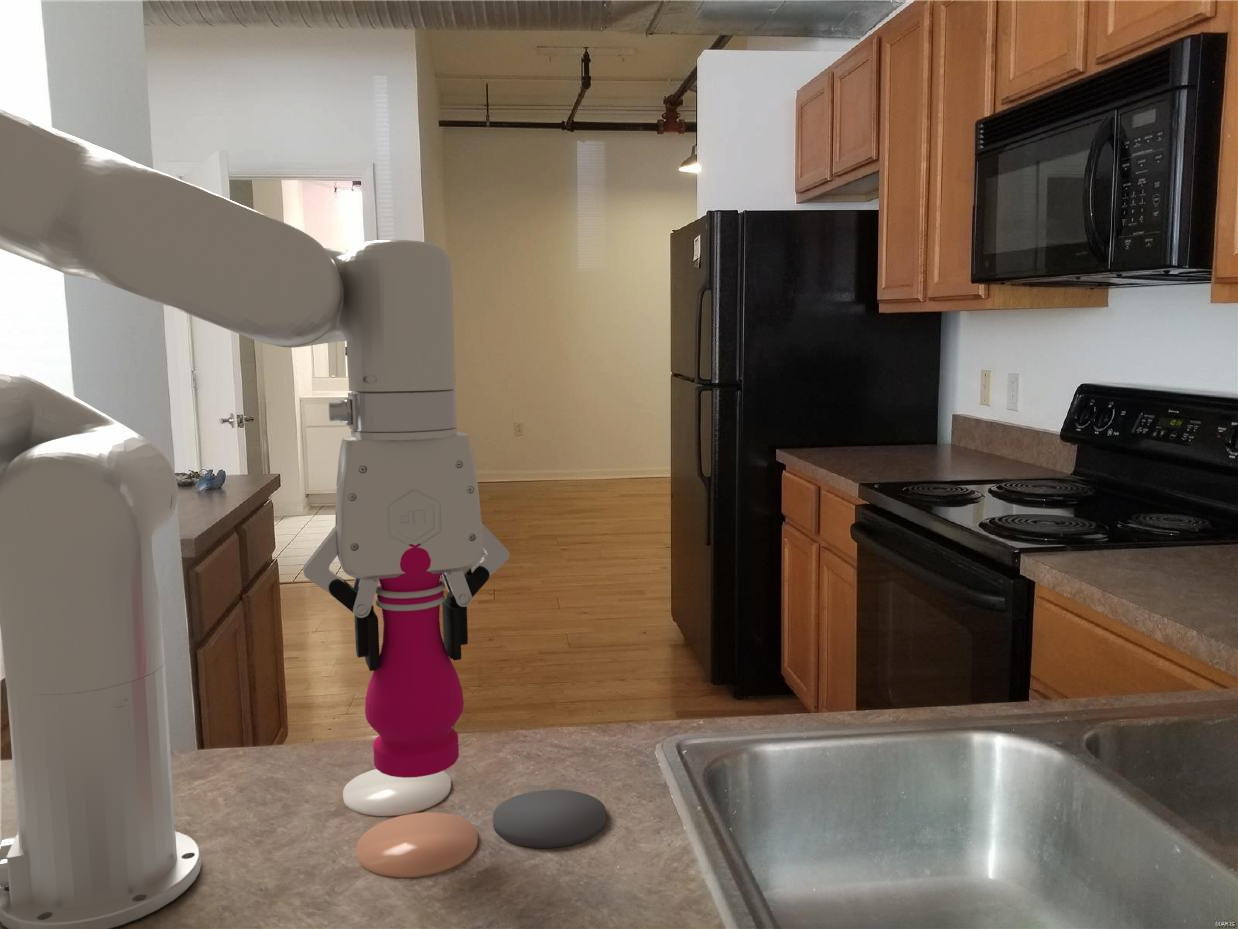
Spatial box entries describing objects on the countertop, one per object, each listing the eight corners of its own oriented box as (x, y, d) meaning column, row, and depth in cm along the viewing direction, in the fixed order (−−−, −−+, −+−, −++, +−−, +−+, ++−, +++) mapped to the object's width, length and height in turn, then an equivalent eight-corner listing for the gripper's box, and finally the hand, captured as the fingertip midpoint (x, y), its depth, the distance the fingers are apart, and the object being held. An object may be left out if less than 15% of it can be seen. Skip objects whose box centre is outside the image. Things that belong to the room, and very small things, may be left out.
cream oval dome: (348, 828, 76) (348, 819, 76) (338, 782, 85) (338, 774, 85) (460, 808, 80) (460, 799, 79) (440, 766, 88) (440, 758, 88)
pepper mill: (347, 775, 70) (335, 503, 68) (398, 737, 77) (389, 489, 74) (437, 787, 68) (427, 506, 65) (481, 747, 74) (473, 492, 72)
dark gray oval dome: (609, 845, 73) (609, 834, 72) (489, 850, 72) (489, 840, 72) (602, 796, 81) (602, 787, 81) (496, 801, 81) (496, 792, 81)
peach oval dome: (364, 893, 67) (363, 882, 67) (350, 834, 75) (350, 824, 75) (490, 867, 70) (489, 857, 70) (463, 813, 79) (463, 804, 79)
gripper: (280, 423, 63) (294, 692, 65) (532, 415, 69) (538, 660, 71) (276, 417, 70) (289, 660, 72) (505, 410, 76) (511, 633, 78)
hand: (413, 657), depth 71 cm, fingers closed on pepper mill, 5 cm apart
